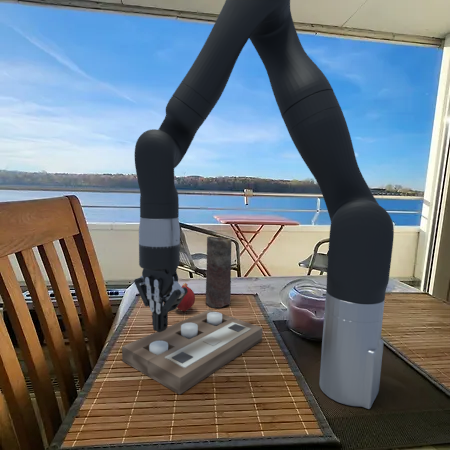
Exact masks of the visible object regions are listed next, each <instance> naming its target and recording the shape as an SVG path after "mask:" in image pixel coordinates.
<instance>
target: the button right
mask: <svg viewBox="0 0 450 450" xmlns="http://www.w3.org/2000/svg"><path fill="white" fill-rule="evenodd" d="M222 314H223V313H221V312H218V311H215V312H210V313H208V314H207V323H208V324H210V325H213V326H218V325H220V324H222Z"/></svg>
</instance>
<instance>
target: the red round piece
mask: <svg viewBox="0 0 450 450" xmlns="http://www.w3.org/2000/svg"><path fill="white" fill-rule="evenodd" d="M181 287H182V288H184V287H186V288H187V290H188V292H187V294H186V295H185V297H184V298H183V299H182V301H181V302H180V304H179V305H178V306H177V308H176V309H178V310H180V311H181V312H184V313H185V312H187V311H188V310H190V309H191V308H192V307H193V306H194V304H195V302H196V296H195V292H194V291H193V289H191V288H190V287H189V286H188V284H187V283H186V282H184V283H183V284H182V285H181Z"/></svg>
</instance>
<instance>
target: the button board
mask: <svg viewBox="0 0 450 450" xmlns="http://www.w3.org/2000/svg"><path fill="white" fill-rule="evenodd" d="M210 312H216V311H215V310H212V309H207V310H205V311H202V312H200V313H198V314H195V315H193V316H190V317H188V318H187V319H184V320H181V321H178V322H177V323H174V324H171V325H168V326H167V328H166V330H164V331H162V332H157V331H155V332H153V333H151V334H148V335H146V336H143V337H142V338H141V337H140V338H139V339H136V340H134V341H132V342H129V343H127V344H125V345H122V347H121V348H122V349H121V351H122V352H121V353H122V355H121V359H122V362H123V363H125V364H127V365H129V366H130V367H132V368H134V369H136V370H137V371H138V372H140V373H142V374H144V375H146V376H147V377H149V378H151V379H152V380H154V381H156V383H159V384H161V385H162V386H164V387H165V388H167V389H170V390H171V391H173V392H174V393H176V394H177V395H182V394H183V393H185V392H186V391H189V389H190V388H193V387H194V386H195V385H197V384H199V383H201V381H203V380H204V379H205V378H207V377H209V376H210V375H212V374H213V373H215V372H216V371H218V370H219V369H221V368H222V367H224V366H225V365H227V364H228V363H230V362H231V361H233V360H235V359H236V358H237V357H240V356H241V355H242V354H244V353H245V352H246V351H248V350H249V349H251V348H252V347H254V346H255V345H257V344H259V343H260V342H261V341H262V340H263V327H262V326H259V325H256V324H253V323H250V322H248V321H244V320H241V319H238V318H235V317H233V316H229V315H226V314H223V313H221V314H222V324H220V325H218V326H213V325H210V324H208V323H207V314H208V313H210ZM184 323H195V324H197V325H198V336H196V337H194V338H192V339H187V338H185V337H183V336H181V325H182V324H184ZM154 341H165V342H167V343H168V350H167V351H165V352H163V353H161V354H159V355H156V354H154V353H152V352H150V351H149V345H150V344H151V343H152V342H154Z"/></svg>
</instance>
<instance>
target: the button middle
mask: <svg viewBox="0 0 450 450" xmlns="http://www.w3.org/2000/svg"><path fill="white" fill-rule="evenodd" d="M181 336H183V337H185V338H187V339H192V338H194V337H196V336H198V325H197V324H195V323H184V324H182V325H181Z"/></svg>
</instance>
